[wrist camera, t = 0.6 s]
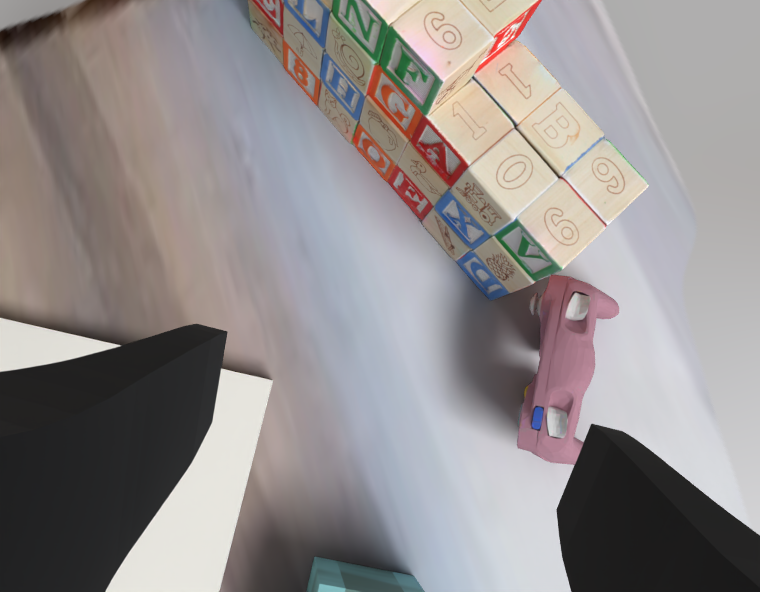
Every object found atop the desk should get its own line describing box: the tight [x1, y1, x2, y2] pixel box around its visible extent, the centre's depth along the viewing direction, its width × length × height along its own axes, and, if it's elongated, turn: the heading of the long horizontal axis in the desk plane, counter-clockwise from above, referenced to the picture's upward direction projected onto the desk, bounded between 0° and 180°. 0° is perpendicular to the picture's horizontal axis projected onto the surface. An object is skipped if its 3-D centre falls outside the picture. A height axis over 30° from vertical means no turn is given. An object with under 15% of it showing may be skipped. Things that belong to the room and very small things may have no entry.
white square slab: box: [0, 318, 273, 592], centre depth 27 cm, size 18×18×6 cm
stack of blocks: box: [248, 0, 649, 300], centre depth 30 cm, size 21×6×12 cm, turn 42°
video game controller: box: [517, 275, 619, 465], centre depth 33 cm, size 10×5×7 cm, turn 166°
